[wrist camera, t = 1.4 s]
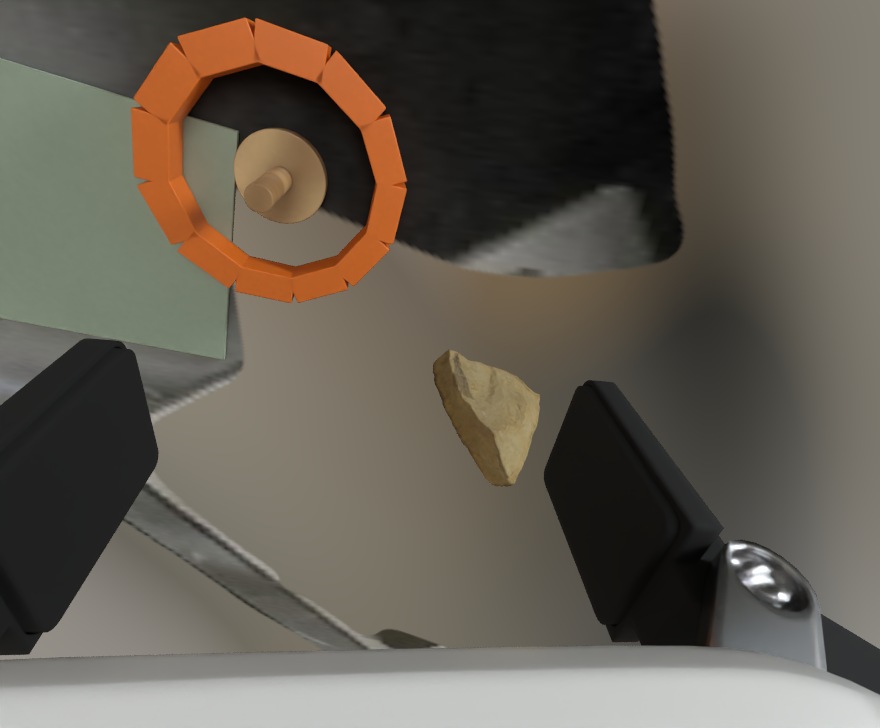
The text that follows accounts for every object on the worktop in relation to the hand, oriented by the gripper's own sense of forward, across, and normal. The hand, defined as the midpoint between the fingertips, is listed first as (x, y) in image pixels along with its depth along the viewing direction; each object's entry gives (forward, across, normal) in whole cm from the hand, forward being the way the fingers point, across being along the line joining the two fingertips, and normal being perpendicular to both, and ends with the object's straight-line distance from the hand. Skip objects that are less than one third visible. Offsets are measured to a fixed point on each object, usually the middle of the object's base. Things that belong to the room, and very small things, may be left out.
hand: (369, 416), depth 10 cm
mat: (+26, +20, +5) cm, 33 cm away
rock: (+26, -11, +16) cm, 33 cm away
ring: (+26, +7, 0) cm, 27 cm away
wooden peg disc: (+26, +7, 0) cm, 27 cm away
